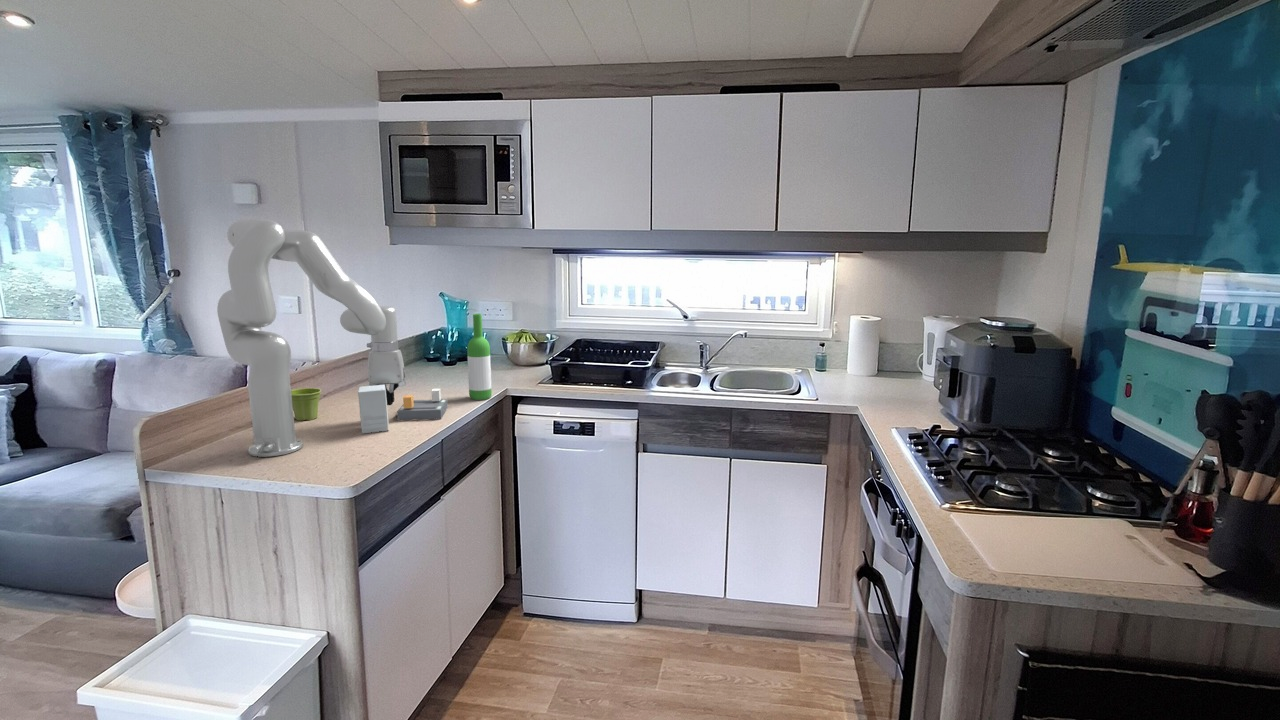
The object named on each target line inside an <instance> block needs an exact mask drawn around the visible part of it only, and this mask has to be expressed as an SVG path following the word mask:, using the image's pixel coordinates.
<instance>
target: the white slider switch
mask: <svg viewBox="0 0 1280 720" xmlns="http://www.w3.org/2000/svg"><path fill="white" fill-rule="evenodd" d="M431 400H432V401H440V400H442V391H441V388H432V389H431Z"/></svg>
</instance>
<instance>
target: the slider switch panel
mask: <svg viewBox="0 0 1280 720" xmlns="http://www.w3.org/2000/svg"><path fill="white" fill-rule="evenodd" d="M413 400H414V406H413V407H412V408H404V404H402V405H401V406H399V408H398V410H397V411H396V412H397V413H396V414H397V421H412V420H411V419H429V420H442V418H443V417H444V415H445V414H446V412H447V410H448V408H449V407H448V398H447V399H441V400H440V401H432V399H413Z"/></svg>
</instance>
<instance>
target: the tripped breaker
mask: <svg viewBox="0 0 1280 720" xmlns="http://www.w3.org/2000/svg"><path fill="white" fill-rule="evenodd" d="M402 398H403V402H402V403H403V404H404V408H412V407H413V406H414V400H415V399H414V394H405V395H404V396H403V397H402ZM403 404H402V405H403Z"/></svg>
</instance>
